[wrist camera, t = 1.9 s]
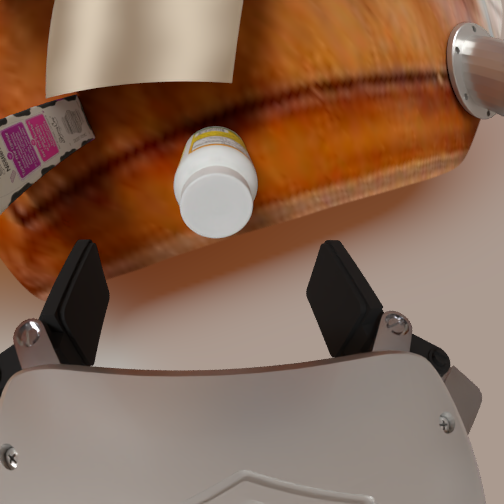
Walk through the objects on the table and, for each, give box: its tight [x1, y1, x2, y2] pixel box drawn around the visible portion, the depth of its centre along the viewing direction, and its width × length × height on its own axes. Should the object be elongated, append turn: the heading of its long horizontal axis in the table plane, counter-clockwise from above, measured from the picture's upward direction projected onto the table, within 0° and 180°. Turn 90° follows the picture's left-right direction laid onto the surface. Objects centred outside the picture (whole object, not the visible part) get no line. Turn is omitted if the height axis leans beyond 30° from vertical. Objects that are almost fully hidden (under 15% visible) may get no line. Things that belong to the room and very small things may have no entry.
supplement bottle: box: [174, 126, 258, 238], centre depth 18 cm, size 5×5×10 cm
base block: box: [46, 0, 243, 98], centre depth 11 cm, size 13×13×5 cm
